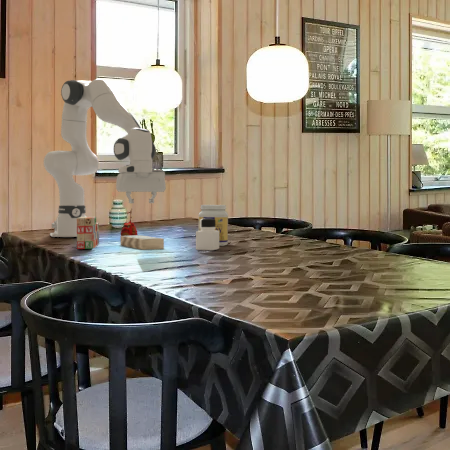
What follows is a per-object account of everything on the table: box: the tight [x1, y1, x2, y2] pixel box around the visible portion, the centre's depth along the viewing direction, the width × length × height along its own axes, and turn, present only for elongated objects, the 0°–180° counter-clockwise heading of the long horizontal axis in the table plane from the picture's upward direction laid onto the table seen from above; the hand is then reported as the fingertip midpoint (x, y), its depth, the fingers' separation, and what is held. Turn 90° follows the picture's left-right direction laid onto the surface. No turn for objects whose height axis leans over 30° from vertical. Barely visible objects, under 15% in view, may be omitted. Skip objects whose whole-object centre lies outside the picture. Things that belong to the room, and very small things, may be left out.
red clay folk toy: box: [120, 208, 138, 237], centre depth 284 cm, size 8×7×15 cm
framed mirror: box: [120, 234, 165, 251], centre depth 262 cm, size 23×9×4 cm, turn 30°
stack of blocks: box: [76, 216, 100, 250], centre depth 265 cm, size 21×6×12 cm, turn 4°
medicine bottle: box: [195, 218, 220, 251], centre depth 251 cm, size 7×7×12 cm
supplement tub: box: [198, 204, 229, 247], centre depth 268 cm, size 12×12×17 cm
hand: (141, 203), depth 261 cm, fingers open, 7 cm apart
